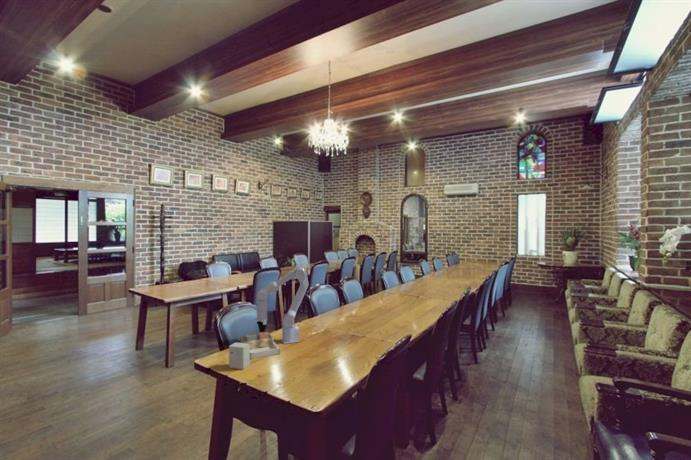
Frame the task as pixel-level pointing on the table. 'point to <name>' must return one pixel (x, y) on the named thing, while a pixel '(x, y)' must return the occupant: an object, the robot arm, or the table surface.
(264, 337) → the terracotta tile
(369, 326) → the table surface
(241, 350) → the small box
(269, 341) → the bench plate
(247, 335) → the slate tile
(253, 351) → the tray
